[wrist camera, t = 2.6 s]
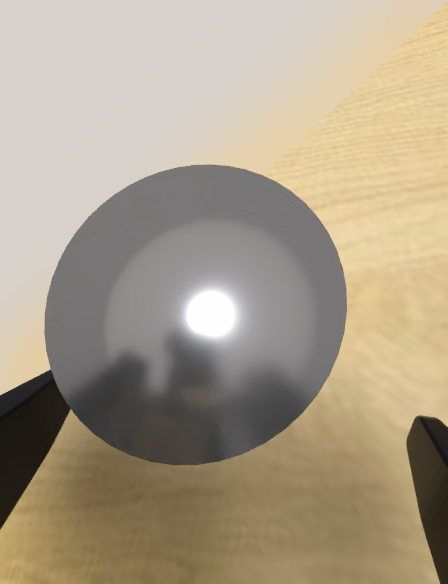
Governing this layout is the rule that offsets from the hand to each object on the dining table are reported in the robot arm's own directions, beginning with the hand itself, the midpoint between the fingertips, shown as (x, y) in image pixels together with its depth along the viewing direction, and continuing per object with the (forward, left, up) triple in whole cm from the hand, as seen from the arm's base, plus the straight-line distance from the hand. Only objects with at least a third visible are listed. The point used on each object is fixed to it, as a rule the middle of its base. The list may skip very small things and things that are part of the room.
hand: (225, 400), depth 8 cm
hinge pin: (+1, +1, -9) cm, 9 cm away
